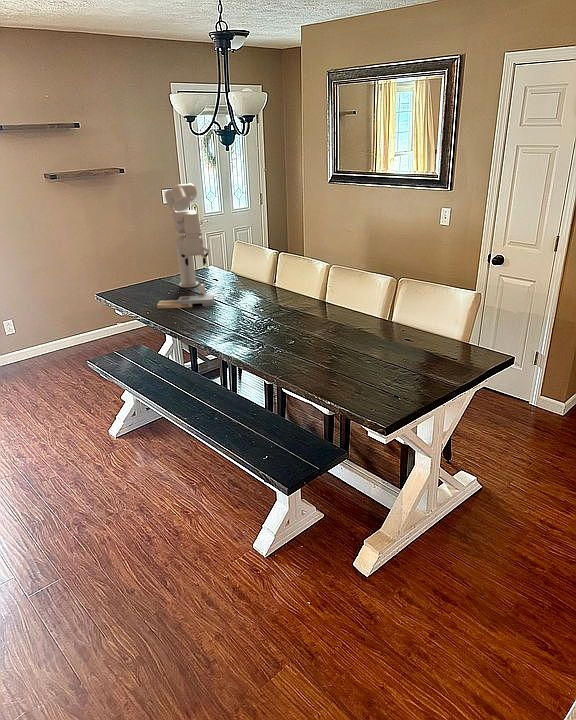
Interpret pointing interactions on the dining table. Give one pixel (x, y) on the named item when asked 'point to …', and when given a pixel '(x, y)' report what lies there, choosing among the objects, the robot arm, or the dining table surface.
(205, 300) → the link
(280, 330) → the dining table surface
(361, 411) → the dining table surface
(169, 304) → the link
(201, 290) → the pin
